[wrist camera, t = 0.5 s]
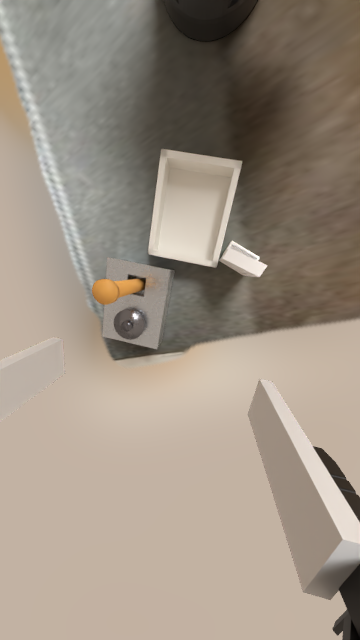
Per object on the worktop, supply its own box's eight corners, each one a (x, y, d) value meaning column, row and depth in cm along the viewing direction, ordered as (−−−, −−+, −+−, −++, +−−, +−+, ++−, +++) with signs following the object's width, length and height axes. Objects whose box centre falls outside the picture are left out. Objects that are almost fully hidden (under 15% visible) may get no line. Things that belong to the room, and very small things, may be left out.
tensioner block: (119, 259, 36) (99, 256, 29) (174, 270, 36) (167, 270, 28) (113, 328, 41) (94, 341, 34) (162, 340, 40) (153, 355, 33)
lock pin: (136, 274, 36) (92, 276, 22) (151, 277, 36) (116, 282, 21) (134, 290, 37) (91, 301, 22) (149, 293, 37) (114, 306, 22)
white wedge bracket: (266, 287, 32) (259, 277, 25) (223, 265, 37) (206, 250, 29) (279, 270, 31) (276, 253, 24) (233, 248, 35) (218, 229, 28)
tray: (165, 162, 31) (161, 148, 27) (238, 173, 30) (242, 161, 26) (152, 255, 35) (147, 253, 32) (215, 268, 34) (216, 267, 31)
